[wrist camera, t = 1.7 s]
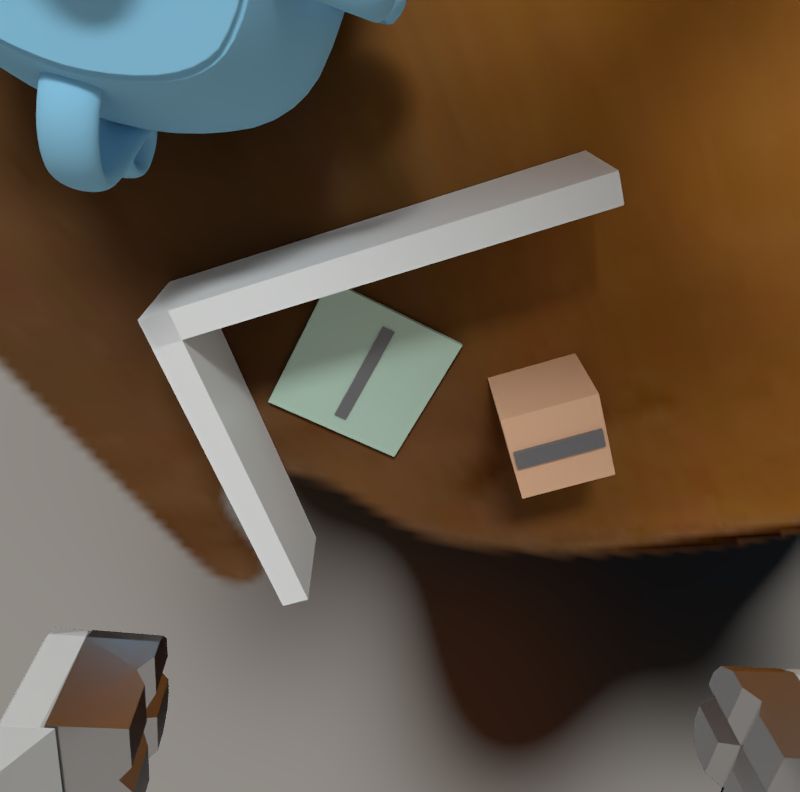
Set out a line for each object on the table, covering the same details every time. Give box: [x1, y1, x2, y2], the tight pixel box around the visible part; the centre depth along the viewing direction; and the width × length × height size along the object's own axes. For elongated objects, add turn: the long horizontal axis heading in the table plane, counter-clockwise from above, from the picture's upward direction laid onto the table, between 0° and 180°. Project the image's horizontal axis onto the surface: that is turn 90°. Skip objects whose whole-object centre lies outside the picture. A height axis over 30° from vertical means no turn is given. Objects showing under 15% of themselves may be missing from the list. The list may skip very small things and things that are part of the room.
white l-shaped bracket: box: [138, 150, 624, 606], centre depth 38 cm, size 22×18×6 cm
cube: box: [488, 353, 615, 499], centre depth 39 cm, size 5×5×5 cm
